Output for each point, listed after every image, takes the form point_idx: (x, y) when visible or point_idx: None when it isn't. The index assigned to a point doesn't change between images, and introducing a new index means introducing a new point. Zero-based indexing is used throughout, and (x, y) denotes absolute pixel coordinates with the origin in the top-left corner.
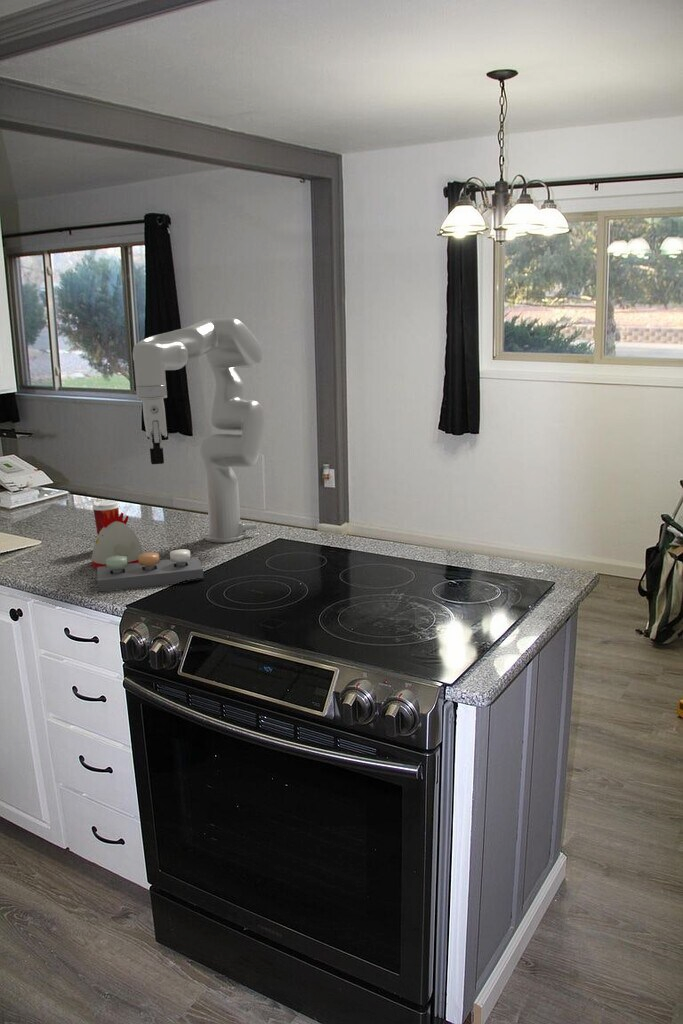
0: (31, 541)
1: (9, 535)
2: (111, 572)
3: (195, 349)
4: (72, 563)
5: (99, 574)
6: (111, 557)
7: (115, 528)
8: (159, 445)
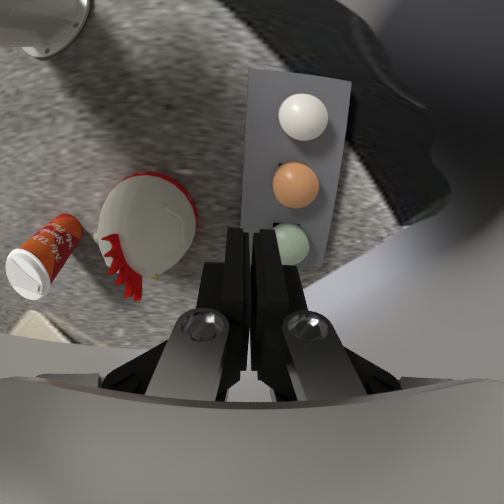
0: (32, 319)
1: (14, 334)
2: None
3: None
4: None
5: None
6: None
7: (151, 257)
8: (357, 357)
